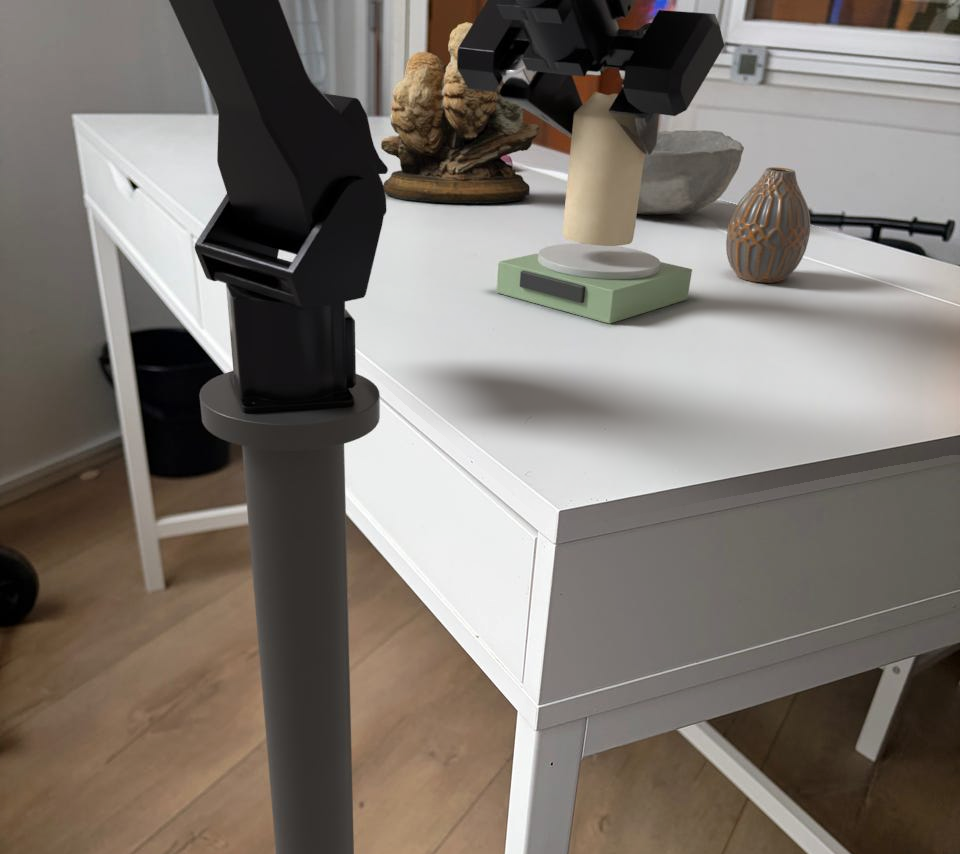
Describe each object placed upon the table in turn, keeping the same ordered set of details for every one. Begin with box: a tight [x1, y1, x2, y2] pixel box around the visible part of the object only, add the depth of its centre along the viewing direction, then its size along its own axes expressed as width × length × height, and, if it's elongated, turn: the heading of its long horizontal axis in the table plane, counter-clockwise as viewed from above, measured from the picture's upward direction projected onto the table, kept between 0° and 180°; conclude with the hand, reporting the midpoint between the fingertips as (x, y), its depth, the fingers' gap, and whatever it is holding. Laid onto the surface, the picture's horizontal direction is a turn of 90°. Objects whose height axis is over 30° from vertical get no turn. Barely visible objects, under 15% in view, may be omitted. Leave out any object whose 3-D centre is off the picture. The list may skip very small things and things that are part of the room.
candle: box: [562, 91, 645, 247], centre depth 75 cm, size 6×6×10 cm
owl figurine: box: [380, 21, 541, 204], centre depth 111 cm, size 18×12×17 cm, turn 105°
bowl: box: [637, 129, 745, 216], centre depth 110 cm, size 18×18×8 cm
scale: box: [496, 242, 693, 325], centre depth 79 cm, size 11×11×3 cm
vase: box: [725, 166, 811, 284], centre depth 86 cm, size 7×7×9 cm
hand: (618, 144), depth 75 cm, fingers closed on candle, 5 cm apart
